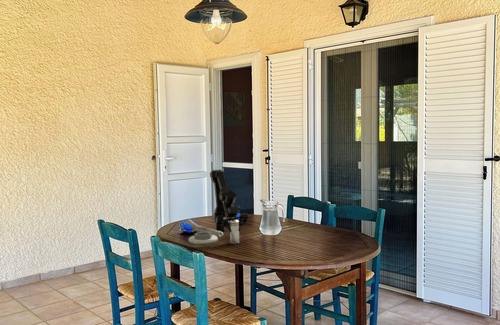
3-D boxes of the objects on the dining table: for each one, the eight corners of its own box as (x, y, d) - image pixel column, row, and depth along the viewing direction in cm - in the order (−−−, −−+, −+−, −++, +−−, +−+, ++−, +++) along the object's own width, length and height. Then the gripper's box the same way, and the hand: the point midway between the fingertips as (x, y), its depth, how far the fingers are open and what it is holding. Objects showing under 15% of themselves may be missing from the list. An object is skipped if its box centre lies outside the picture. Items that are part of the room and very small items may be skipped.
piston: (231, 241, 267) (230, 219, 266) (240, 241, 266) (239, 219, 265) (229, 243, 262) (228, 221, 261) (238, 244, 261) (237, 221, 260)
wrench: (221, 241, 280) (183, 231, 295) (223, 241, 281) (185, 230, 297) (222, 228, 278) (184, 218, 294) (224, 228, 280) (186, 218, 296)
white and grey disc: (194, 236, 282) (194, 230, 281) (221, 237, 278) (220, 230, 278) (184, 243, 265) (184, 236, 265) (212, 244, 261) (212, 237, 261)
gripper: (216, 202, 263) (221, 225, 254) (247, 199, 269) (253, 222, 259) (213, 213, 271) (218, 236, 262) (243, 211, 277) (249, 232, 267)
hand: (235, 231), depth 262 cm, fingers closed on piston, 5 cm apart
